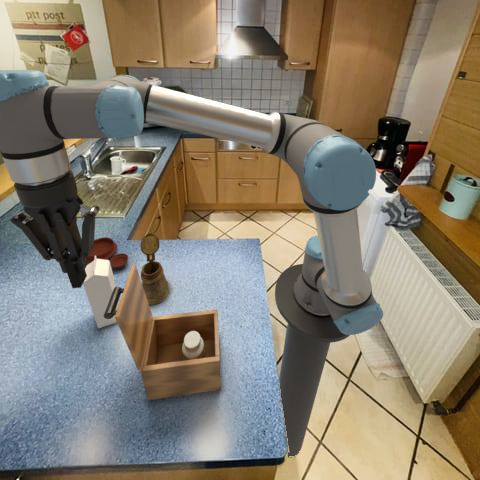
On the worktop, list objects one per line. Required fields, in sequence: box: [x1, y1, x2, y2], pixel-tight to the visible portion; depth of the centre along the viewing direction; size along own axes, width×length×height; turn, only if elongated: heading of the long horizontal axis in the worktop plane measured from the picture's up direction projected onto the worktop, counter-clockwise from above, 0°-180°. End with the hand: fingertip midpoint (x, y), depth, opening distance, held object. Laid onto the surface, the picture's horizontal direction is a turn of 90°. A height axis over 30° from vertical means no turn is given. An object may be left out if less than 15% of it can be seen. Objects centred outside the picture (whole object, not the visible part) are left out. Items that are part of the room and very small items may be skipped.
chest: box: [139, 309, 222, 401], centre depth 62 cm, size 17×12×12 cm
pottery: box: [85, 237, 129, 270], centre depth 95 cm, size 12×20×4 cm, turn 61°
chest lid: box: [104, 264, 153, 371], centre depth 55 cm, size 18×12×5 cm
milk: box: [82, 255, 121, 329], centre depth 72 cm, size 6×6×22 cm
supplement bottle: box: [182, 331, 205, 361], centre depth 63 cm, size 5×5×10 cm
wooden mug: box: [139, 232, 171, 305], centre depth 82 cm, size 9×14×18 cm, turn 17°
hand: (79, 281), depth 49 cm, fingers closed
